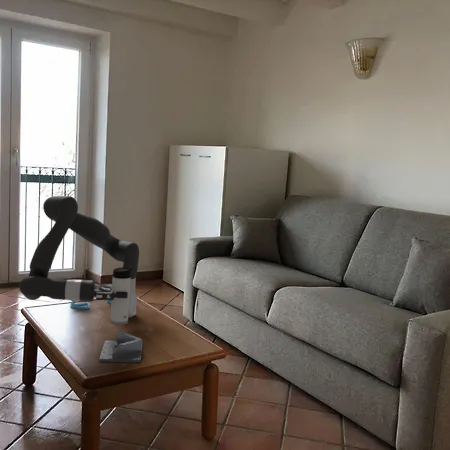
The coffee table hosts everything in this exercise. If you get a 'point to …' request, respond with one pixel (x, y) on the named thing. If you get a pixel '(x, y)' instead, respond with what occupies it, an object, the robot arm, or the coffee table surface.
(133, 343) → the v block
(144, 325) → the coffee table surface
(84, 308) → the chair
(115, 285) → the travel mug
